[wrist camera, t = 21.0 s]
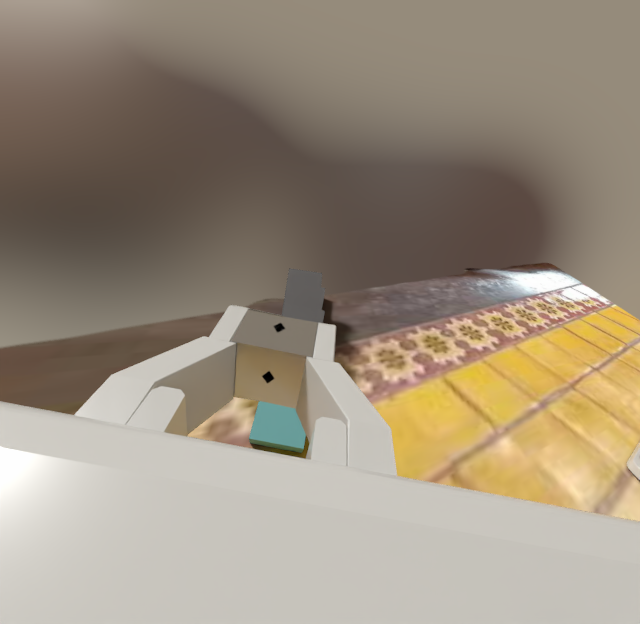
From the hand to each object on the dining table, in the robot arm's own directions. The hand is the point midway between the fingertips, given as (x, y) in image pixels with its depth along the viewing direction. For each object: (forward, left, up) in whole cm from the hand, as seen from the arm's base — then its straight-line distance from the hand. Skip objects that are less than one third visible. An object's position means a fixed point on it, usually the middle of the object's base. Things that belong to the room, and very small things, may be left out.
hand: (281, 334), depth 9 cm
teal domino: (-9, -7, -21) cm, 24 cm away
